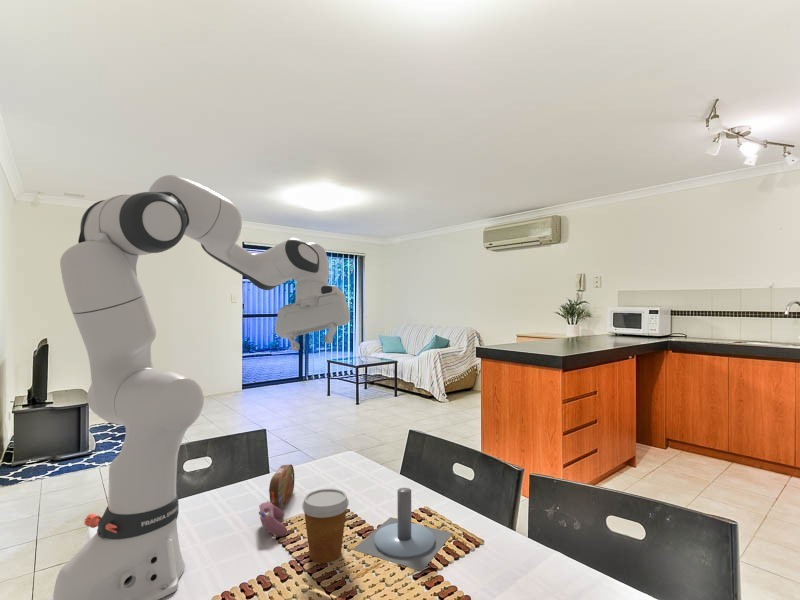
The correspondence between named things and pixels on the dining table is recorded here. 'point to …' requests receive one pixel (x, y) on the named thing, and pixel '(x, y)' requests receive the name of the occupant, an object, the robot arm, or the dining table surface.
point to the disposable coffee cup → (325, 523)
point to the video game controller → (272, 519)
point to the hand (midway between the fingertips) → (311, 346)
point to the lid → (404, 533)
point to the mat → (415, 562)
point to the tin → (282, 486)
